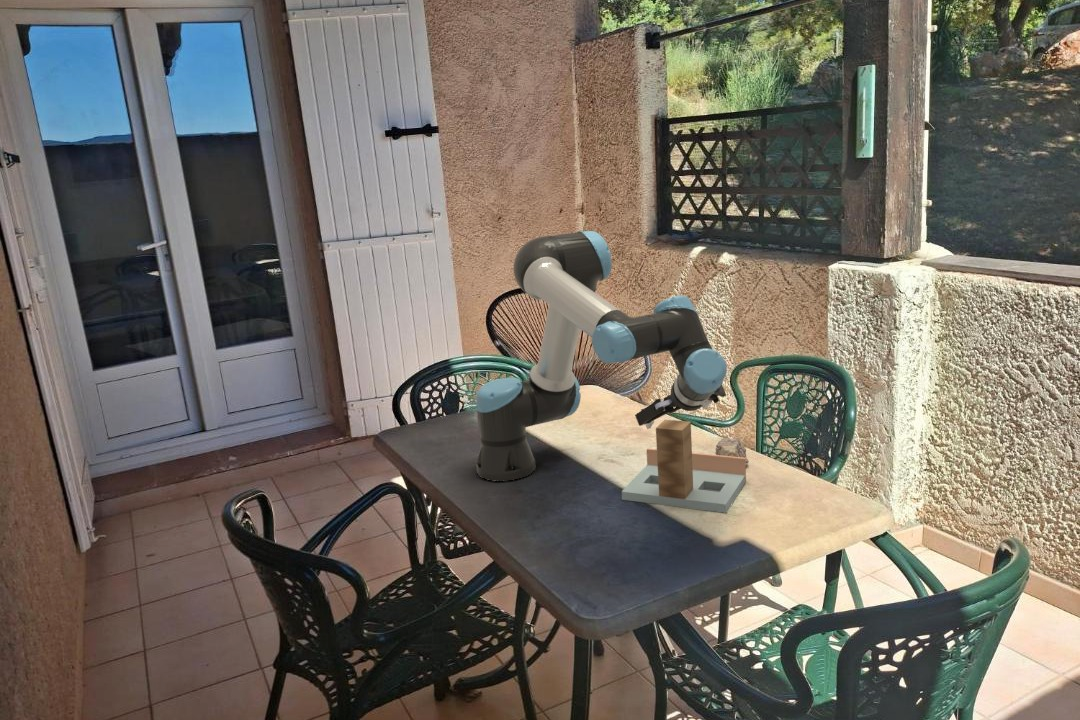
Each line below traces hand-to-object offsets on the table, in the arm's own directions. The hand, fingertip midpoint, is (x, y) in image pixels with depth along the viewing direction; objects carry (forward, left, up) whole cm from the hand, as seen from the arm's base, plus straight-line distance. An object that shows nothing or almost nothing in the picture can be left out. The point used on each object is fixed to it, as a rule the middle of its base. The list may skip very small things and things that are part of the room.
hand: (674, 413), depth 183 cm
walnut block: (+1, -4, -17) cm, 18 cm away
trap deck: (+1, +1, -19) cm, 19 cm away
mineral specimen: (+7, +20, -20) cm, 29 cm away
